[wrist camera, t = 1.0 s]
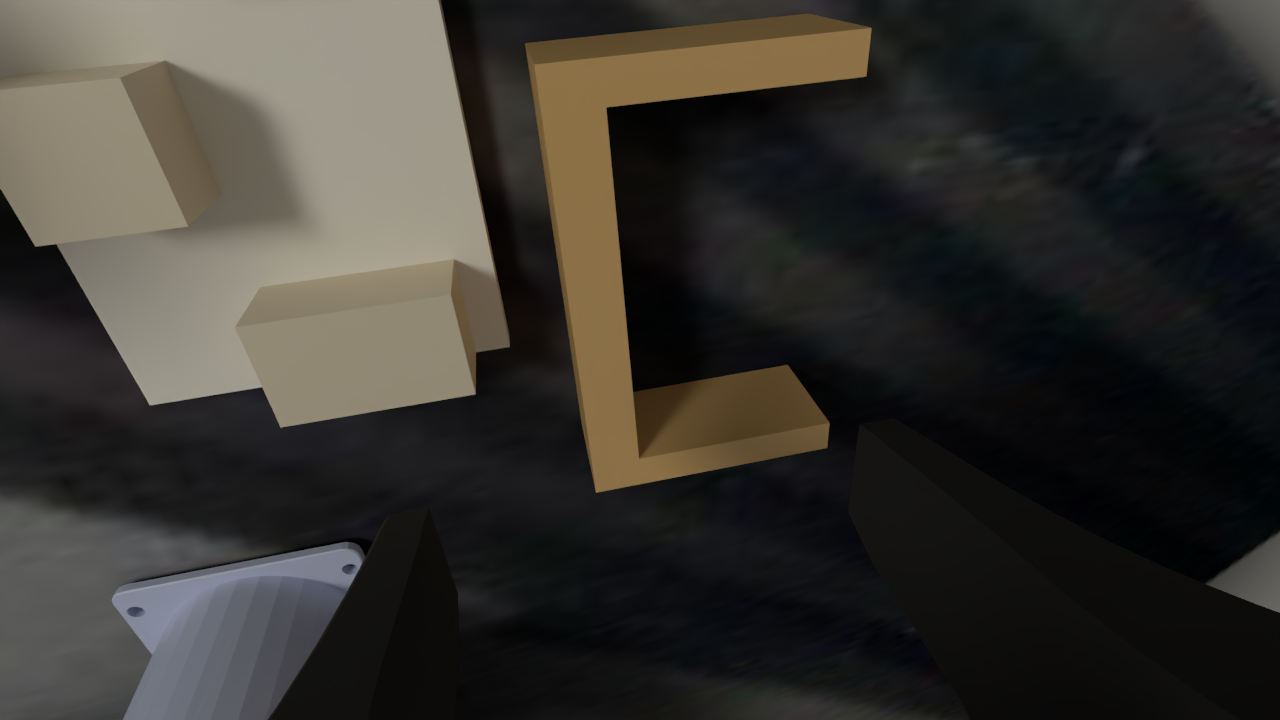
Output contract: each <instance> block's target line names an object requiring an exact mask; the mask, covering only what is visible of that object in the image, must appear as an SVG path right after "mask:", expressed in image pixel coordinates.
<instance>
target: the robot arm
mask: <svg viewBox="0 0 1280 720" xmlns="http://www.w3.org/2000/svg"><path fill="white" fill-rule="evenodd" d="M848 512H849V514H850V517H851V519H852V521H853V523H854V525H855V527H856V530H857V532H858V534H859V536H860V538H861V540H862V542H863V544H864V546H865V548H866V550H867V552H868V555H869V557H870V559H871V561H872V563H873V564H874V566H875V568H876V569H877V571H878V572H879V574H880V576H881V577H882V579H883V580H884V582H885V584H886V585H887V587H888V588H889V590H890V591H891V593H892V594H893V596H894V598H895V599H896V601H897V602H898V604H899V605H900V607H901V609H902V610H903V612H904V613H905V615H906V616H907V618H908V619H909V621H910V622H911V624H912V625H913V627H914V629H915V630H916V632H917V633H918V635H919V636H920V638H921V639H922V641H923V642H924V644H925V645H926V647H927V649H928V650H929V652H930V653H931V655H932V656H933V658H934V659H935V661H936V662H937V664H938V665H939V667H940V669H941V670H942V672H943V673H944V675H945V676H946V678H947V679H948V681H949V683H950V684H951V686H952V688H953V689H954V691H955V693H956V694H957V696H958V698H959V699H960V701H961V703H962V704H963V706H964V708H965V710H966V712H967V713H968V715H969V717H970V719H971V720H1280V613H1278V612H1276V611H1273V610H1270V609H1267V608H1265V607H1262V606H1259V605H1256V604H1254V603H1252V602H1249V601H1246V600H1244V599H1241V598H1239V597H1236V596H1234V595H1231V594H1228V593H1226V592H1224V591H1221V590H1218V589H1216V588H1214V587H1211V586H1208V585H1206V584H1203V583H1201V582H1198V581H1196V580H1194V579H1191V578H1189V577H1187V576H1184V575H1182V574H1180V573H1177V572H1175V571H1172V570H1170V569H1168V568H1166V567H1163V566H1161V565H1159V564H1157V563H1155V562H1152V561H1150V560H1148V559H1146V558H1144V557H1142V556H1139V555H1137V554H1135V553H1133V552H1131V551H1129V550H1126V549H1124V548H1122V547H1120V546H1118V545H1116V544H1113V543H1111V542H1109V541H1107V540H1105V539H1103V538H1101V537H1099V536H1097V535H1095V534H1093V533H1091V532H1089V531H1087V530H1085V529H1083V528H1082V527H1080V526H1078V525H1076V524H1074V523H1072V522H1070V521H1068V520H1066V519H1065V518H1063V517H1061V516H1059V515H1057V514H1055V513H1053V512H1051V511H1049V510H1048V509H1046V508H1044V507H1042V506H1040V505H1039V504H1037V503H1035V502H1033V501H1031V500H1030V499H1028V498H1026V497H1024V496H1022V495H1021V494H1019V493H1017V492H1016V491H1014V490H1012V489H1010V488H1009V487H1007V486H1005V485H1003V484H1002V483H1000V482H998V481H997V480H995V479H993V478H992V477H990V476H988V475H987V474H985V473H983V472H982V471H980V470H978V469H977V468H975V467H973V466H972V465H970V464H968V463H967V462H965V461H963V460H962V459H960V458H959V457H957V456H955V455H954V454H952V453H950V452H949V451H947V450H946V449H944V448H942V447H941V446H939V445H937V444H936V443H934V442H933V441H931V440H929V439H928V438H926V437H924V436H923V435H921V434H919V433H918V432H916V431H914V430H913V429H911V428H909V427H908V426H906V425H904V424H903V423H901V422H899V421H897V420H895V419H894V418H890V419H885V420H880V421H875V422H870V423H864V424H859V432H858V439H857V447H856V454H855V462H854V469H853V477H852V484H851V492H850V499H849V507H848ZM347 564H353V565H355V566H349V565H347ZM112 602H113V605H114V606H115V607H116V609H117V610H118V611H119V612H120V614H121V615H122V616H123V618H124V619H125V620H126V621H127V623H128V624H129V625H130V627H131V628H132V629H133V631H134V632H135V633H136V634H137V636H138V637H139V638H140V640H141V641H142V642H143V643H144V645H145V646H146V647H147V649H148V650H149V651H150V652H151V654H152V657H151V660H150V662H149V664H148V666H147V668H146V670H145V673H144V675H143V677H142V679H141V681H140V684H139V686H138V688H137V690H136V692H135V694H134V697H133V699H132V701H131V703H130V705H129V707H128V710H127V712H126V714H125V716H124V718H123V720H454V719H455V708H456V695H457V683H458V670H459V656H460V652H459V616H458V593H457V590H456V587H455V584H454V581H453V578H452V575H451V572H450V569H449V566H448V563H447V560H446V557H445V554H444V551H443V548H442V545H441V543H440V540H439V537H438V534H437V531H436V528H435V525H434V522H433V519H432V516H431V513H430V510H429V507H428V508H423V509H418V510H413V511H407V512H402V513H397V514H392V515H389V516H388V517H387V518H386V519H385V520H384V522H383V524H382V526H381V528H380V530H379V532H378V534H377V536H376V538H375V539H374V541H373V543H372V545H371V547H370V549H369V551H368V553H367V555H366V557H365V555H364V553H363V551H362V549H361V547H360V546H359V545H357V544H355V543H351V542H342V543H337V544H332V545H327V546H322V547H317V548H311V549H306V550H301V551H296V552H291V553H286V554H280V555H275V556H270V557H265V558H260V559H255V560H249V561H244V562H239V563H234V564H229V565H224V566H219V567H213V568H208V569H203V570H198V571H193V572H188V573H182V574H177V575H172V576H167V577H162V578H157V579H151V580H146V581H141V582H136V583H131V584H126V585H123V586H120V587H119V588H118V589H117V590H116V592H115V594H114V596H113V598H112Z"/></svg>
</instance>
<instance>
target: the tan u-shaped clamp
mask: <svg viewBox="0 0 1280 720" xmlns="http://www.w3.org/2000/svg"><path fill="white" fill-rule="evenodd" d="M870 38H871V28H870V27H865V26H861V25H856V24H852V23H847V22H843V21H839V20H834V19H830V18H825V17H821V16H816V15H812V14H801V15H791V16H782V17H772V18H763V19H753V20H743V21H734V22H724V23H715V24H705V25H695V26H686V27H676V28H667V29H657V30H648V31H638V32H628V33H619V34H609V35H600V36H590V37H581V38H571V39H561V40H552V41H542V42H533V43H525V46H526V53H527V59H528V66H529V73H530V80H531V86H532V93H533V100H534V106H535V113H536V120H537V127H538V133H539V140H540V147H541V153H542V160H543V167H544V173H545V180H546V187H547V194H548V200H549V207H550V214H551V220H552V227H553V234H554V241H555V247H556V254H557V261H558V267H559V274H560V281H561V287H562V294H563V301H564V308H565V314H566V321H567V328H568V334H569V341H570V348H571V355H572V361H573V368H574V375H575V381H576V388H577V395H578V401H579V408H580V415H581V422H582V427H583V432H584V437H585V442H586V446H587V451H588V456H589V461H590V466H591V470H592V475H593V480H594V485H595V490H596V493H597V492H602V491H607V490H612V489H617V488H622V487H628V486H633V485H638V484H643V483H648V482H653V481H659V480H664V479H669V478H674V477H679V476H684V475H690V474H695V473H700V472H705V471H710V470H715V469H721V468H726V467H731V466H736V465H741V464H746V463H752V462H757V461H762V460H767V459H772V458H777V457H783V456H788V455H793V454H798V453H803V452H809V451H814V450H819V449H824V448H827V444H828V434H829V425H830V423H829V421H828V420H827V419H826V417H825V416H824V414H823V413H822V412H821V410H820V409H819V408H818V406H817V405H816V403H815V402H814V401H813V399H812V398H811V396H810V395H809V394H808V392H807V391H806V390H805V388H804V387H803V385H802V384H801V383H800V381H799V380H798V378H797V377H796V376H795V374H794V373H793V372H792V370H791V369H790V367H789V366H788V365H784V366H778V367H773V368H767V369H761V370H755V371H750V372H744V373H738V374H733V375H727V376H721V377H715V378H710V379H704V380H698V381H693V382H687V383H681V384H675V385H670V386H664V387H658V388H653V389H647V390H641V391H636V392H633V388H632V377H631V366H630V356H629V345H628V334H627V324H626V313H625V302H624V291H623V281H622V270H621V259H620V249H619V238H618V227H617V217H616V206H615V195H614V185H613V174H612V163H611V152H610V142H609V131H608V120H607V110H606V107H615V106H623V105H631V104H640V103H648V102H657V101H665V100H674V99H682V98H690V97H699V96H707V95H716V94H724V93H733V92H741V91H749V90H758V89H766V88H775V87H783V86H792V85H800V84H809V83H817V82H825V81H834V80H842V79H851V78H859V77H866V76H867V66H868V57H869V47H870Z"/></svg>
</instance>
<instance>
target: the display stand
mask: <svg viewBox="0 0 1280 720" xmlns="http://www.w3.org/2000/svg"><path fill="white" fill-rule="evenodd" d="M0 189H1V190H2V192H3V194H4V195H5V197H6V199H7V200H8V202H9V204H10V205H11V207H12V209H13V210H14V212H15V214H16V215H17V217H18V219H19V220H20V222H21V224H22V225H23V227H24V229H25V230H26V232H27V234H28V235H29V237H30V239H31V240H32V242H33V244H34V245H35V247H37V246H45V245H53V244H56V245H57V246H58V248H59V250H60V251H61V253H62V255H63V257H64V258H65V260H66V262H67V263H68V265H69V267H70V269H71V270H72V272H73V274H74V275H75V277H76V279H77V281H78V282H79V284H80V286H81V288H82V289H83V291H84V293H85V294H86V296H87V298H88V300H89V301H90V303H91V305H92V306H93V308H94V310H95V312H96V313H97V315H98V317H99V318H100V320H101V322H102V324H103V325H104V327H105V329H106V330H107V332H108V334H109V336H110V337H111V339H112V341H113V342H114V344H115V346H116V348H117V349H118V351H119V353H120V355H121V356H122V358H123V360H124V361H125V363H126V365H127V367H128V368H129V370H130V372H131V373H132V375H133V377H134V379H135V380H136V382H137V384H138V385H139V387H140V389H141V391H142V392H143V394H144V396H145V397H146V399H147V401H148V403H149V404H150V405H155V404H161V403H167V402H174V401H180V400H186V399H192V398H198V397H204V396H211V395H217V394H223V393H229V392H235V391H241V390H248V389H254V388H260V387H262V388H263V390H264V392H265V394H266V396H267V398H268V401H269V403H270V405H271V407H272V409H273V411H274V414H275V416H276V418H277V420H278V422H279V425H280V427H286V426H292V425H298V424H304V423H310V422H316V421H321V420H327V419H333V418H339V417H345V416H351V415H357V414H363V413H368V412H374V411H380V410H386V409H392V408H398V407H404V406H410V405H415V404H421V403H427V402H433V401H439V400H445V399H451V398H456V397H462V396H468V395H474V394H476V352H482V351H488V350H494V349H500V348H506V347H510V340H509V331H508V326H507V321H506V316H505V312H504V307H503V302H502V297H501V292H500V287H499V282H498V277H497V273H496V268H495V263H494V258H493V253H492V248H491V243H490V238H489V233H488V229H487V224H486V219H485V214H484V209H483V204H482V199H481V194H480V190H479V185H478V180H477V175H476V170H475V165H474V160H473V155H472V151H471V146H470V141H469V136H468V131H467V126H466V121H465V116H464V112H463V107H462V102H461V97H460V92H459V87H458V82H457V77H456V72H455V68H454V63H453V58H452V53H451V48H450V43H449V38H448V33H447V29H446V24H445V19H444V14H443V9H442V4H441V0H0Z"/></svg>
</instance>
